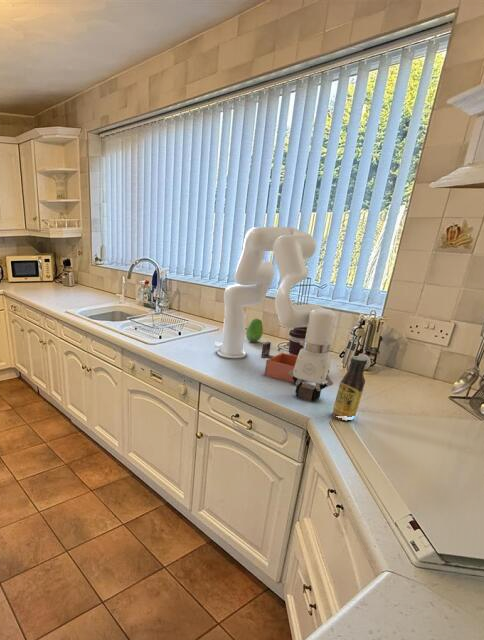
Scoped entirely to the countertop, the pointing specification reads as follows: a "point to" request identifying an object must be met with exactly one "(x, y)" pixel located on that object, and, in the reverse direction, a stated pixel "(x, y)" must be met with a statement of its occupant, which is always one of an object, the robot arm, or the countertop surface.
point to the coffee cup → (296, 340)
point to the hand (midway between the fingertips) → (306, 397)
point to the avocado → (254, 330)
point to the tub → (278, 363)
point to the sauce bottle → (350, 389)
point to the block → (306, 392)
